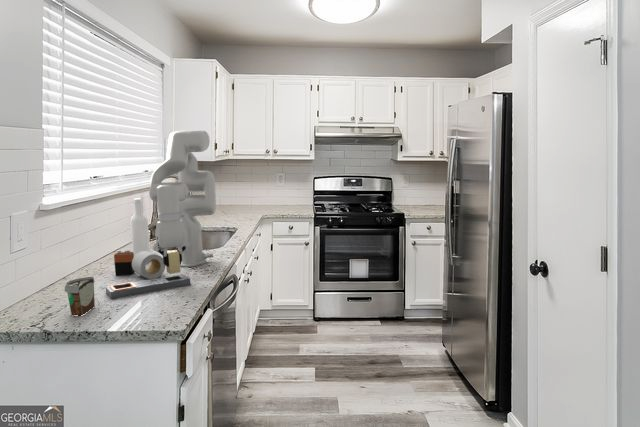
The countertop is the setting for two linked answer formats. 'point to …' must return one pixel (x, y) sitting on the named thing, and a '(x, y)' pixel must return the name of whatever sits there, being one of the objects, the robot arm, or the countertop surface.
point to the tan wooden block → (173, 262)
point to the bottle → (139, 229)
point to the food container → (80, 295)
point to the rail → (147, 286)
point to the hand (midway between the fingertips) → (173, 264)
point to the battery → (123, 263)
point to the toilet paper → (155, 267)
